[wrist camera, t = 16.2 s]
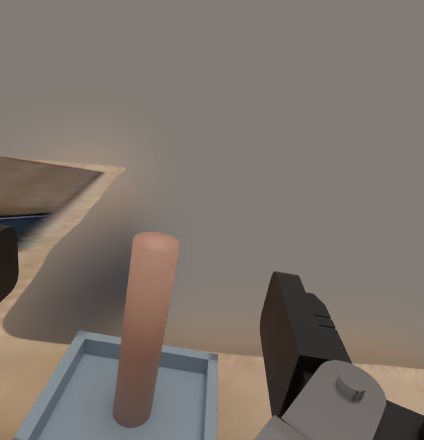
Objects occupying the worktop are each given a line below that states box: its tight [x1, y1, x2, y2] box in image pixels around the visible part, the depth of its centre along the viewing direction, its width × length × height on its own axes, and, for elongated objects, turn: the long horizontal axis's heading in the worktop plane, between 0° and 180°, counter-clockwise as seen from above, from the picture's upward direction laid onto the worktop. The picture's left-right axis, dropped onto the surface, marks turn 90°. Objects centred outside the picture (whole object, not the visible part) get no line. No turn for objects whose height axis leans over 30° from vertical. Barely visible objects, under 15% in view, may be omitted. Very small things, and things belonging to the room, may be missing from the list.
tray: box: [13, 331, 218, 440], centre depth 31 cm, size 15×13×3 cm
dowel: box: [113, 232, 180, 428], centre depth 28 cm, size 3×3×17 cm
